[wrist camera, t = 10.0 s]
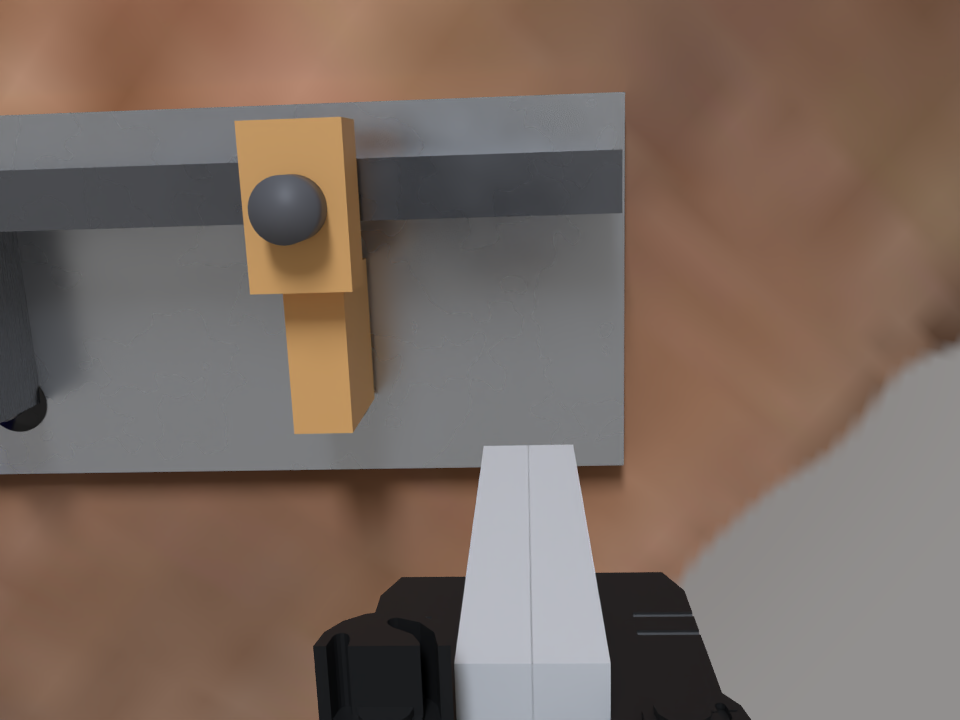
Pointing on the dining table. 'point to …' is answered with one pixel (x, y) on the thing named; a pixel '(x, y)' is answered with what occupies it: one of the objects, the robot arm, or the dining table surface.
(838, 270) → the dining table surface
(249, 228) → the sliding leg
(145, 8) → the dining table surface
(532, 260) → the plate
